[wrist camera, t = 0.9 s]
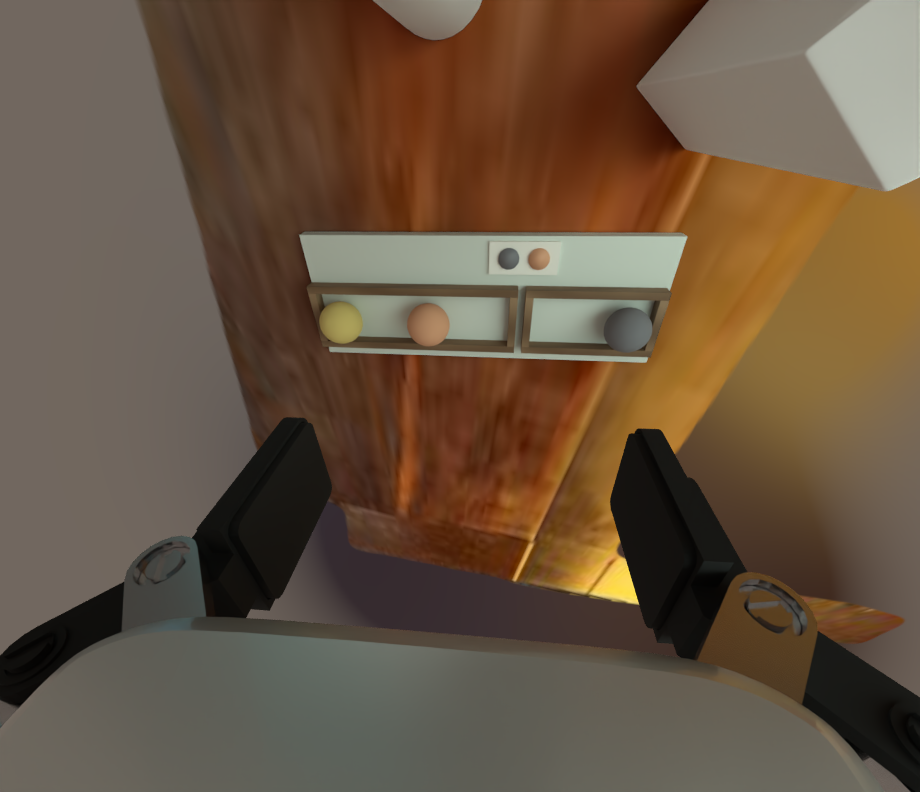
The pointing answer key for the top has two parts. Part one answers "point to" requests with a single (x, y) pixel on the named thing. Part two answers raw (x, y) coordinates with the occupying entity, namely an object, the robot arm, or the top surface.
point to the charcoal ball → (627, 329)
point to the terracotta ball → (428, 324)
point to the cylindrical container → (432, 15)
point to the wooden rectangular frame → (597, 293)
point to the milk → (798, 87)
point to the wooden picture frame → (438, 290)
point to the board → (494, 281)
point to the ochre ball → (341, 322)
